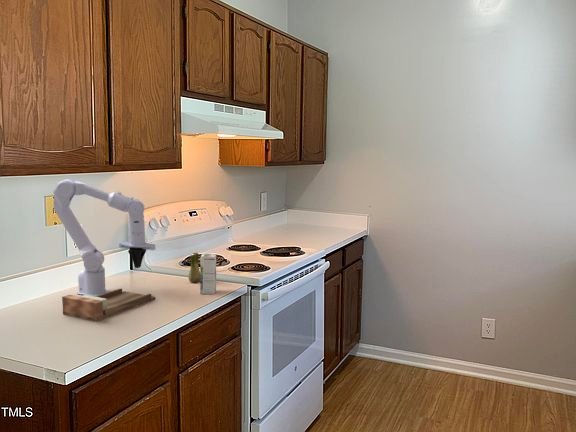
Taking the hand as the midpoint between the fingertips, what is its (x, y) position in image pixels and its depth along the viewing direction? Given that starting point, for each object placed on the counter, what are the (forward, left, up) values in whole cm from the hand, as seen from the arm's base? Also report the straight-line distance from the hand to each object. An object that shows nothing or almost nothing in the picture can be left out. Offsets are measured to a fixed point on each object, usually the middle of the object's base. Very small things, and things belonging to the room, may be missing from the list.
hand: (137, 267), depth 204 cm
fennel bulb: (+10, +22, -10) cm, 26 cm away
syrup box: (+24, +12, -10) cm, 29 cm away
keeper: (+5, -28, -8) cm, 29 cm away
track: (+5, -19, -9) cm, 22 cm away
